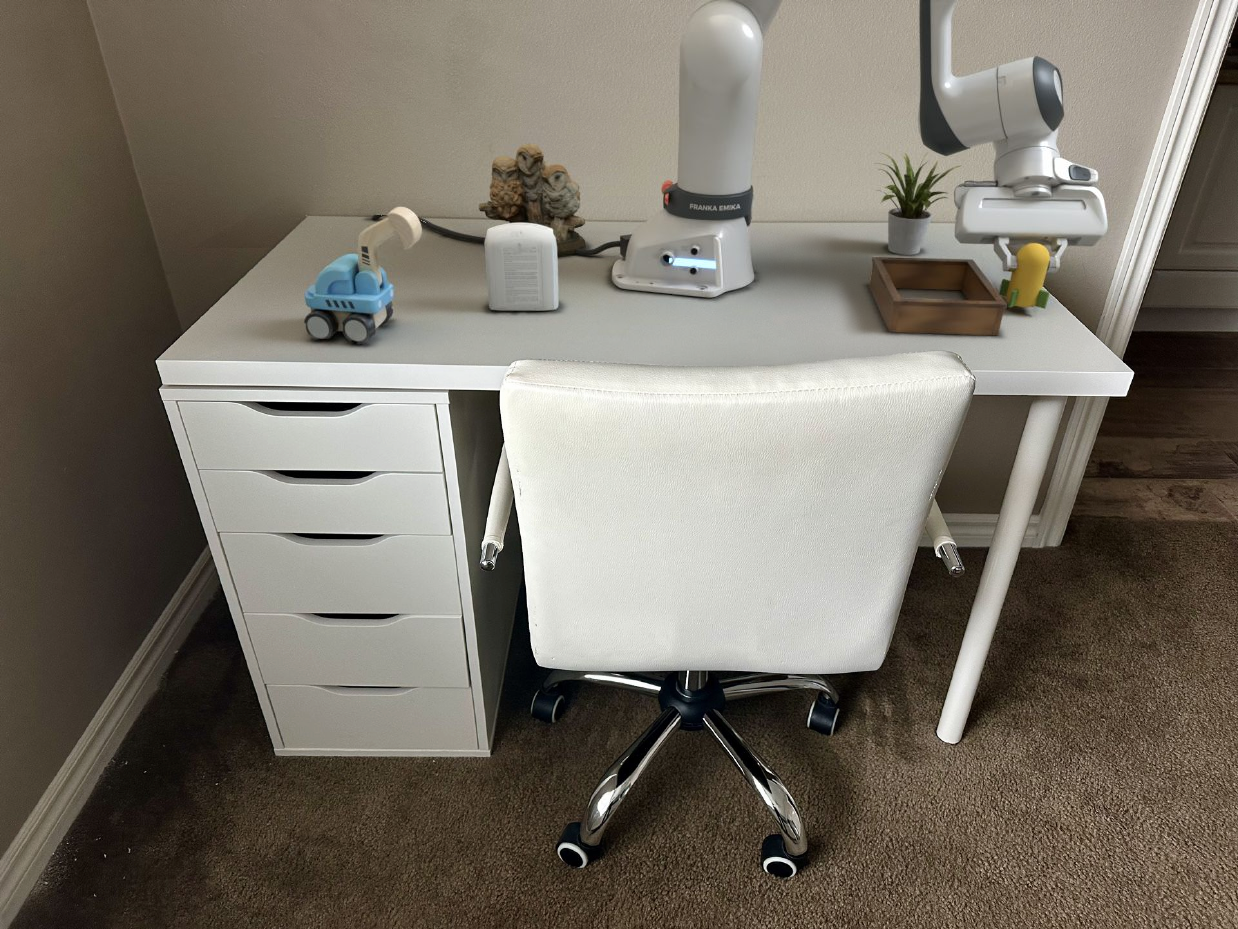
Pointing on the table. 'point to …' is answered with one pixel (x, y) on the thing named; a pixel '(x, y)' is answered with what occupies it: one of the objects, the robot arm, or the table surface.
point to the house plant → (910, 209)
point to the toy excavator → (359, 283)
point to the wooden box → (933, 314)
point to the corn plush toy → (1028, 278)
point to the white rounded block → (521, 267)
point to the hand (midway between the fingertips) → (1031, 270)
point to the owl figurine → (536, 196)
